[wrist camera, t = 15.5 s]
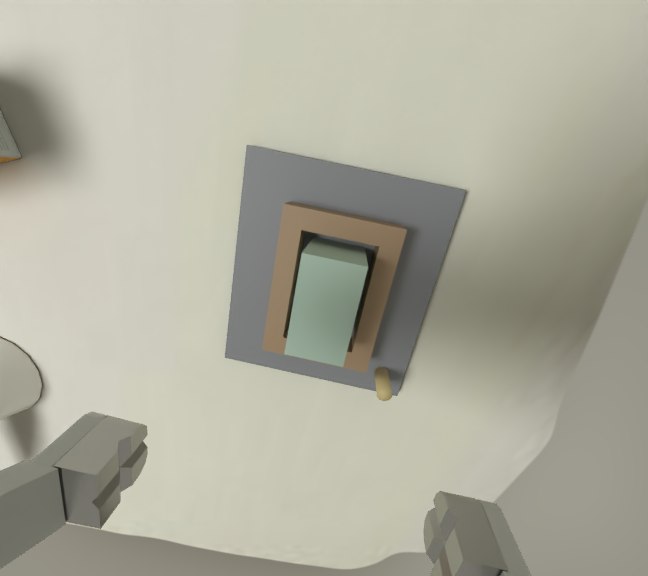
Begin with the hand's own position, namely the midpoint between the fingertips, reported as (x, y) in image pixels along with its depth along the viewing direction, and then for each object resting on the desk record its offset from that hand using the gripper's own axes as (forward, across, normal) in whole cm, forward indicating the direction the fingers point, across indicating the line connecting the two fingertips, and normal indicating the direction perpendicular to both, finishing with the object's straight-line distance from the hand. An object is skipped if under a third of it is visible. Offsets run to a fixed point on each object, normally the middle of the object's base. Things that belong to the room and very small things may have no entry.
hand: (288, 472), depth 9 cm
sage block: (+17, 0, 0) cm, 17 cm away
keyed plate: (+18, 0, 0) cm, 18 cm away
